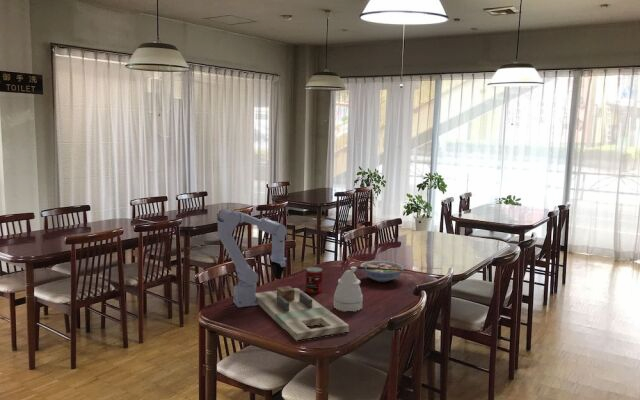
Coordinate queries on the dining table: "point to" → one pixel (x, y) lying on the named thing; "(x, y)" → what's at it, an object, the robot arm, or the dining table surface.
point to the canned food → (314, 280)
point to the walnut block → (286, 292)
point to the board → (300, 315)
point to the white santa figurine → (348, 292)
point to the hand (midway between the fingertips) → (277, 278)
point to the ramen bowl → (381, 270)
